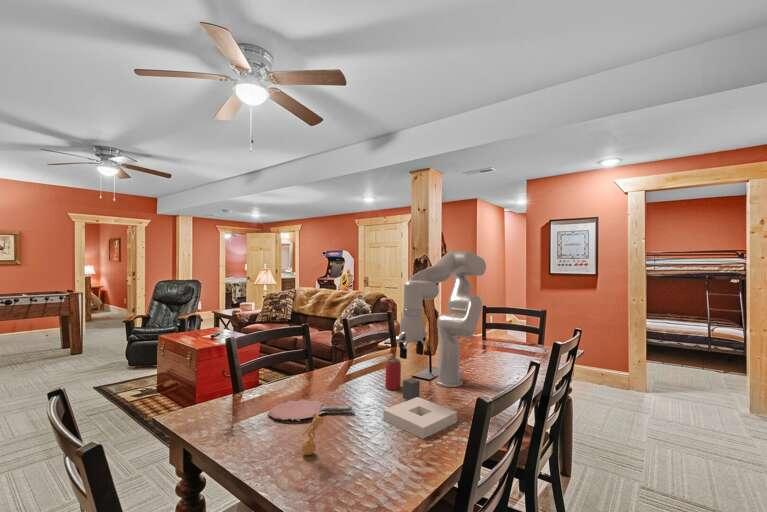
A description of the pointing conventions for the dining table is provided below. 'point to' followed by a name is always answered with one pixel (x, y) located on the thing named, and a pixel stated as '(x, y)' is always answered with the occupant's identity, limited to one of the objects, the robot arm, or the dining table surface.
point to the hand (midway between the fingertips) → (411, 356)
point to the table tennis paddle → (303, 410)
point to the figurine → (309, 444)
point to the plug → (410, 388)
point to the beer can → (393, 374)
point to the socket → (420, 417)
